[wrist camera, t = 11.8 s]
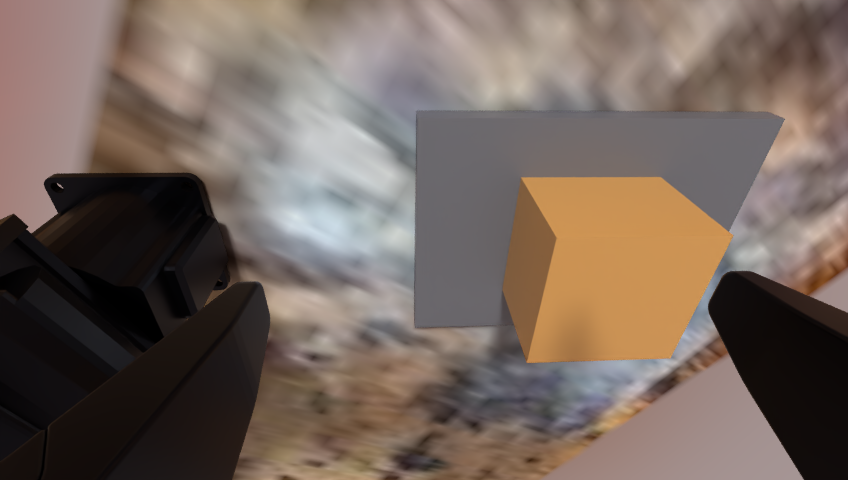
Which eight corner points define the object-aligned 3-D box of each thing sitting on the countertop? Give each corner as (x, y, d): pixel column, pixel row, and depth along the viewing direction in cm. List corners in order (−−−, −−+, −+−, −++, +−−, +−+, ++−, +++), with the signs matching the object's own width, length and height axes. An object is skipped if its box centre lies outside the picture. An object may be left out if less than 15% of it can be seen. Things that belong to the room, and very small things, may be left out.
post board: (414, 315, 25) (417, 370, 21) (416, 110, 18) (422, 144, 15) (675, 308, 26) (717, 359, 22) (768, 111, 19) (847, 143, 16)
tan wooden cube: (502, 289, 23) (526, 362, 19) (520, 177, 19) (556, 237, 15) (620, 286, 23) (670, 358, 19) (660, 177, 19) (733, 235, 15)
